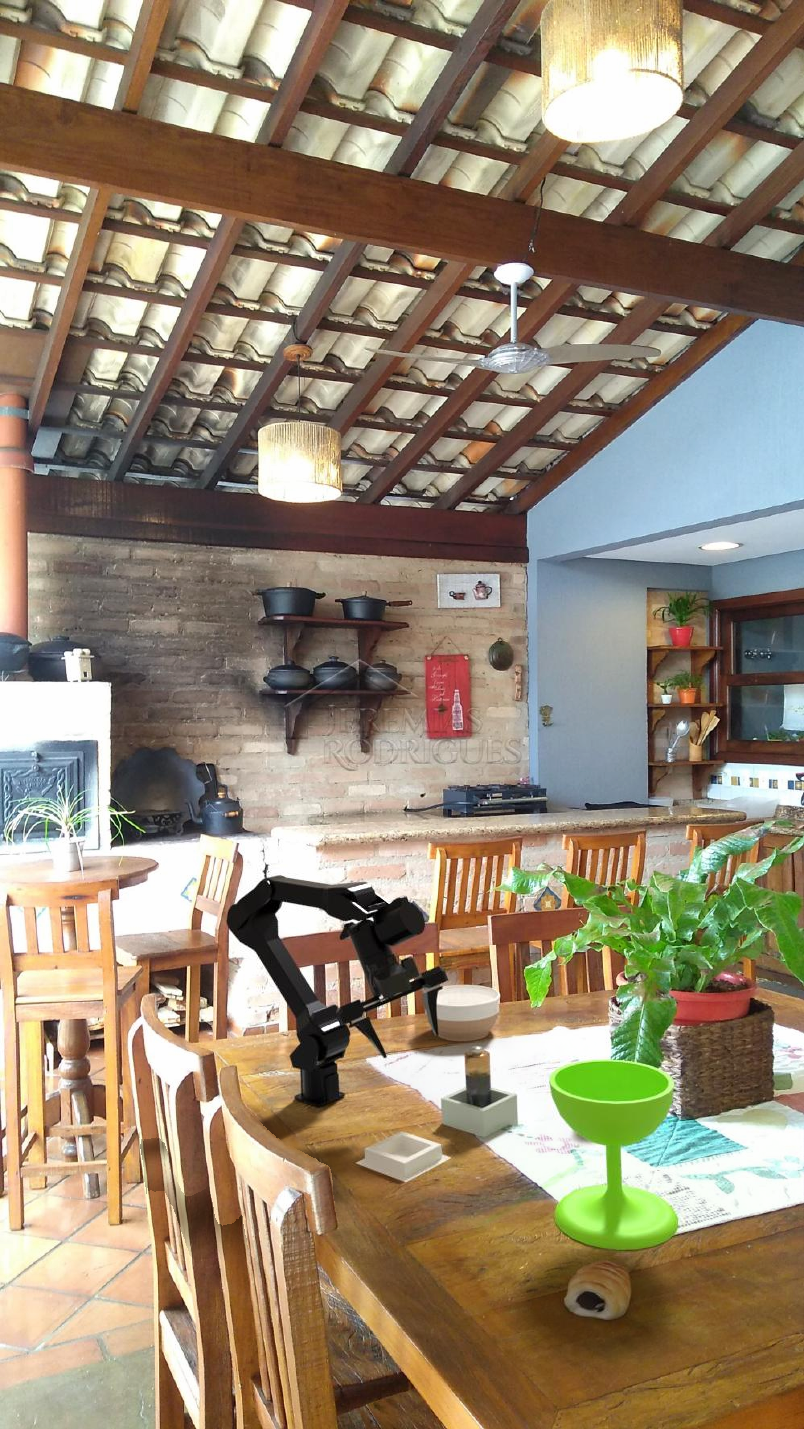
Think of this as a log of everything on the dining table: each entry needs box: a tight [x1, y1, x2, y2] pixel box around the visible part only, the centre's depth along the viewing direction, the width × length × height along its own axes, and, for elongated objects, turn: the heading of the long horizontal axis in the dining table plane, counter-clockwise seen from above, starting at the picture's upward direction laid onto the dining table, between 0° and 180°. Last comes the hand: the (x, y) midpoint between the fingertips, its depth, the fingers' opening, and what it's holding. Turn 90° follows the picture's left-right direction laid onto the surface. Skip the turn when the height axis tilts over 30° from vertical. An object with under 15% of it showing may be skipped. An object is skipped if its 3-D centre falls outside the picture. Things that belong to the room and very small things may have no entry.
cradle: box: [355, 1130, 452, 1183], centre depth 153 cm, size 10×10×3 cm
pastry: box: [563, 1259, 632, 1321], centre depth 118 cm, size 9×7×4 cm
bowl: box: [424, 984, 501, 1042], centre depth 215 cm, size 16×16×8 cm
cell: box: [464, 1045, 492, 1108], centre depth 166 cm, size 4×4×12 cm
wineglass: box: [548, 1059, 680, 1251], centre depth 136 cm, size 16×16×18 cm
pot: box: [440, 1086, 519, 1138], centre depth 166 cm, size 9×9×5 cm
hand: (411, 1046), depth 169 cm, fingers open, 9 cm apart
